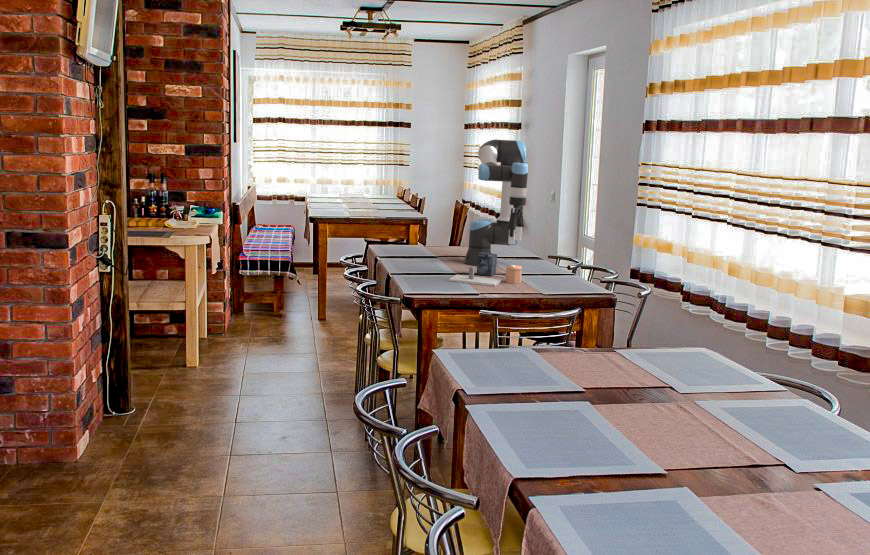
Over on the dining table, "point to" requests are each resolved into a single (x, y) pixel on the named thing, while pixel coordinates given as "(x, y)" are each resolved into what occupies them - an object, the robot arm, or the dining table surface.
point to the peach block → (513, 274)
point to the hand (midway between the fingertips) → (514, 242)
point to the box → (486, 264)
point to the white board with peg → (475, 279)
